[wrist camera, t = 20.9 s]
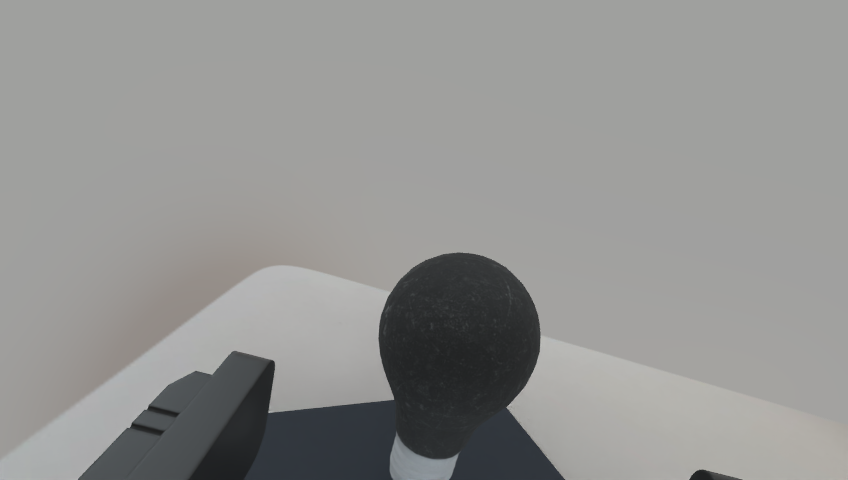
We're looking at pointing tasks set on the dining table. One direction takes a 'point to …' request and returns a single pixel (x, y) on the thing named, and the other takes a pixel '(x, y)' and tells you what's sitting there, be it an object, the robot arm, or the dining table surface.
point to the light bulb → (453, 356)
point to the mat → (385, 447)
